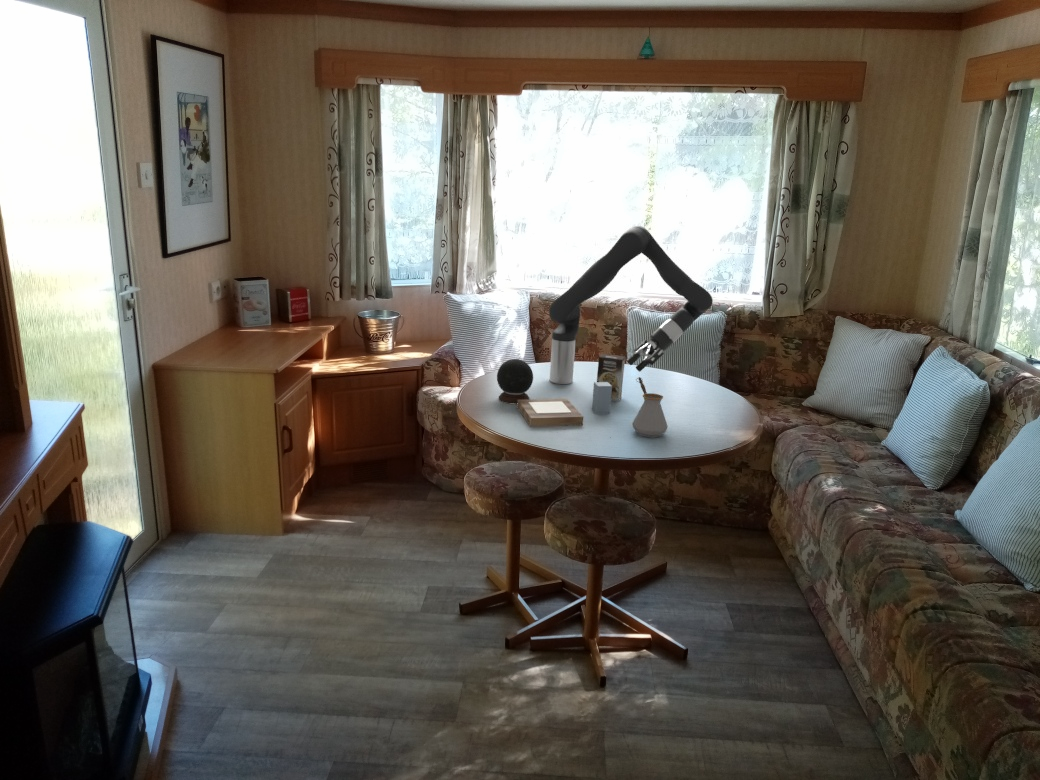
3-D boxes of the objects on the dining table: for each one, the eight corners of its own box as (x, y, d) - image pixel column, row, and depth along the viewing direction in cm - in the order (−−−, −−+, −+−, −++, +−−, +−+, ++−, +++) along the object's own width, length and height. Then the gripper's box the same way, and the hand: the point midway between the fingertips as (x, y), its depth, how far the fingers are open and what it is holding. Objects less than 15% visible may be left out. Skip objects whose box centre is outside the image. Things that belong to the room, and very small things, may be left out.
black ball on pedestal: (495, 403, 277) (496, 363, 272) (496, 393, 289) (498, 354, 285) (531, 405, 277) (534, 365, 272) (532, 394, 289) (534, 356, 285)
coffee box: (594, 398, 288) (597, 356, 284) (598, 394, 294) (601, 352, 290) (618, 401, 286) (622, 359, 281) (621, 397, 292) (625, 355, 287)
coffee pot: (671, 439, 250) (676, 395, 245) (637, 439, 248) (641, 395, 243) (651, 417, 270) (655, 376, 265) (619, 418, 268) (622, 376, 264)
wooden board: (517, 407, 274) (517, 398, 273) (566, 406, 278) (566, 397, 277) (530, 426, 255) (531, 417, 254) (582, 425, 259) (583, 415, 258)
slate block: (591, 409, 276) (593, 382, 273) (605, 408, 277) (607, 381, 274) (596, 413, 272) (598, 386, 269) (609, 413, 273) (612, 386, 270)
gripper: (652, 322, 277) (619, 354, 277) (668, 331, 264) (633, 364, 264) (664, 337, 279) (632, 368, 280) (681, 346, 266) (646, 379, 267)
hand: (632, 366), depth 272 cm, fingers open, 8 cm apart
